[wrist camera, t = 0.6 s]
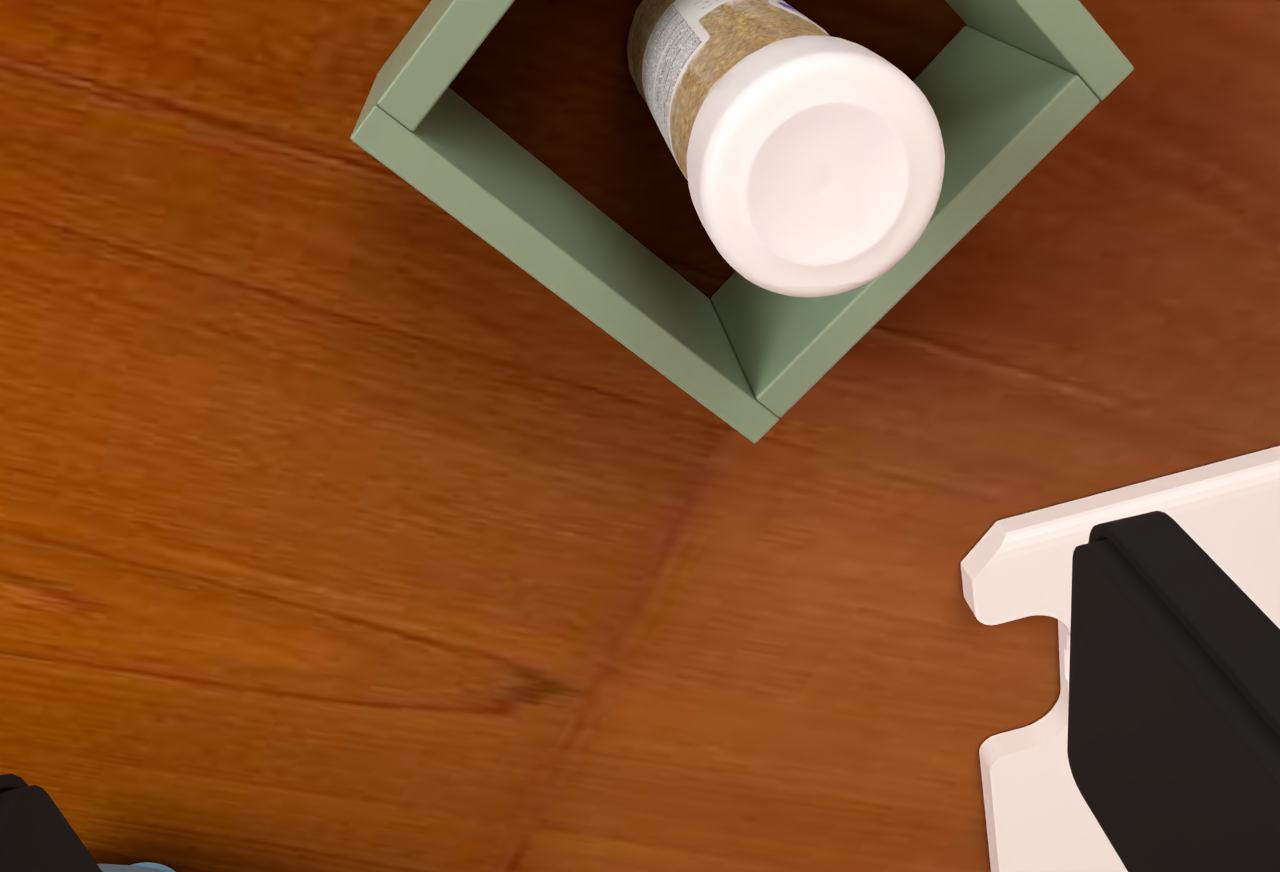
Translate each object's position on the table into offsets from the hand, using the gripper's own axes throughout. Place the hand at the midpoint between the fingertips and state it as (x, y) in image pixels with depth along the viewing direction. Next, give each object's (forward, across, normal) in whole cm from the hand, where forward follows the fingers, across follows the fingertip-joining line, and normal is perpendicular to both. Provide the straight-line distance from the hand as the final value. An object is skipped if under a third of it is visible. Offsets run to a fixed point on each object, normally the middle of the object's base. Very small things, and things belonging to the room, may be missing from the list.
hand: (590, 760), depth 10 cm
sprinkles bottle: (+25, -6, -1) cm, 26 cm away
